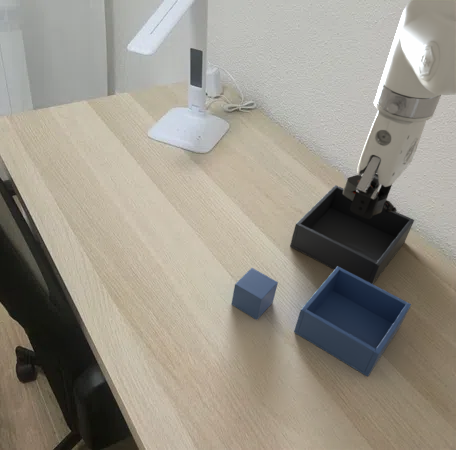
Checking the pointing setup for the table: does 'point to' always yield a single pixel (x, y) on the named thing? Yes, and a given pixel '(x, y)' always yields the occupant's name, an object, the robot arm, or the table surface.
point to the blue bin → (351, 319)
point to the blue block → (254, 293)
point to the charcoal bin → (350, 236)
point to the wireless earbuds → (382, 201)
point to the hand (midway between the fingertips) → (368, 205)
